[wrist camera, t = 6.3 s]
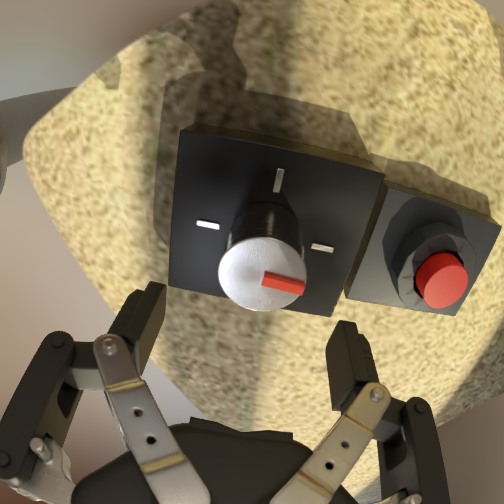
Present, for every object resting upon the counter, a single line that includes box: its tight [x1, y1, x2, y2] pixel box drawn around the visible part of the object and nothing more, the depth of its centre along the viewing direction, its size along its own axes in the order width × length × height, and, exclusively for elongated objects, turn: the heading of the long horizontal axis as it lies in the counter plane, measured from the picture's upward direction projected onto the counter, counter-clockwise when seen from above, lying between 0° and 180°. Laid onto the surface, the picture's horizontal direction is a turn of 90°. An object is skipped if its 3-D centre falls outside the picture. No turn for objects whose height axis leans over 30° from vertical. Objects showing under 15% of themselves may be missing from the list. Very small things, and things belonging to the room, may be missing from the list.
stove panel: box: [168, 124, 385, 317], centre depth 21 cm, size 12×11×3 cm
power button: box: [416, 252, 468, 308], centre depth 19 cm, size 4×4×2 cm
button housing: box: [343, 180, 502, 316], centre depth 21 cm, size 11×9×4 cm
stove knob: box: [218, 202, 307, 311], centre depth 17 cm, size 4×4×5 cm
